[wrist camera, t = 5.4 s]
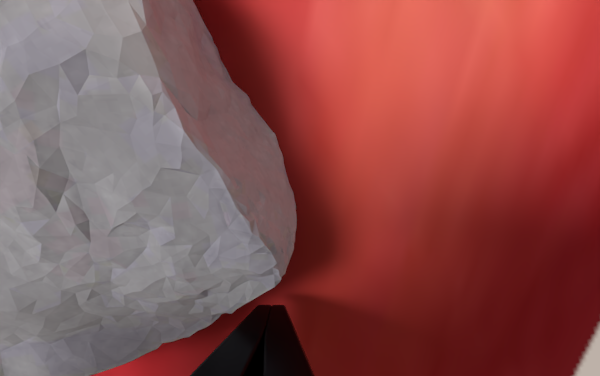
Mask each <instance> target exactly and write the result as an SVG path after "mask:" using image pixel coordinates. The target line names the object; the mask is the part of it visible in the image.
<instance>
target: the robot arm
mask: <svg viewBox="0 0 600 376" xmlns="http://www.w3.org/2000/svg"><path fill="white" fill-rule="evenodd" d="M190 376H314V374H313V371H312V369H311V366H310V364H309V362H308V359H307V357H306V355H305V352H304V350H303V347H302V345H301V343H300V340H299V338H298V336H297V333H296V331H295V328H294V326H293V324H292V321H291V319H290V317H289V314H288V312H287V309H286V307H285V306H284V305H272V306H271V305H258V306H257V307H256V308H255V309H254V310H253V311H252V312H251V313H250V314H249V315H248V316H247V317H246V318H245V319H244V320H243V321H242V322H241V323H240V324H239V325H238V327H237V328H236V329H235V330H234V331H233V332H232V333H231V334H230V335H229V336H228V337H227V338H226V339H225V340H224V341H223V342H222V343H221V344H220V345H219V346H218V347H217V348H216V349H215V350H214V351H213V353H212V354H211V355H210V356H209V357H208V358H207V359H206V360H205V361H204V362H203V363H202V364H201V365H200V366H199V367H198V368H197V369H196V370H195V371H194V372H193V373H192V374H191V375H190Z"/></svg>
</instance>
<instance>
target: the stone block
mask: <svg viewBox="0 0 600 376" xmlns="http://www.w3.org/2000/svg"><path fill="white" fill-rule="evenodd" d="M296 229H297V215H296V203H295V199H294V193H293V190H292V188H291V186H290V184H289V181H288V177H287V173H286V170H285V166H284V159H283V155H282V152H281V150H280V148H279V145H278V141H277V137H276V135H275V133H274V132H273V131H272V130H271V129H270V128H269V126H268V125H267V124H266V122H265V121H264V120H263V119H262V118H261V116H260V115H259V114H258V113H257V111H256V109H255V108H254V107H253V106H252V104H251V101H250V98H249V97H248V95H247V94H246V93H244V92H243V91H242V90H241V89H240V88H239V87H238V86H236V85H235V84H234V83H233V82H232V80H231V78H230V76H229V74H228V71H227V69H226V68H225V66H224V64H223V63H222V61H221V59H220V55H219V52H218V49H217V47H216V45H215V44H214V42H213V38H212V36H211V34H210V33H209V31H208V29H207V27H206V26H205V24H204V22H203V20H202V18H201V16H200V13H199V11H198V9H197V7H196V5H195V4H194V2H193V0H0V376H90V375H93V374H97V373H100V372H103V371H106V370H109V369H111V368H114V367H117V366H120V365H123V364H125V363H128V362H130V361H133V360H135V359H136V358H138V357H140V356H142V355H144V354H146V353H148V352H151V351H153V350H155V349H157V348H158V347H159V346H160V345H161V344H162V343H167V342H173V341H176V340H179V339H181V338H186V337H190V336H191V335H192V334H194V333H195V332H197V331H198V330H201V329H204V328H206V327H208V326H209V325H211V324H212V323H213V322H214V321H216V320H217V319H218V318H219V317H220V316H221V314H224V313H229V314H232V313H233V312H234V311H235V310H236V309H238V308H240V307H241V306H243V305H244V304H246V303H248V302H250V301H252V300H254V299H255V298H257V297H258V296H260V295H262V294H263V293H265V292H267V291H269V290H270V289H272V288H274V287H275V286H276V285H277V284H278V283H279V282H280V281H281V279H282V278H281V277H282V276H283V275H284V274H285V273H286V268H287V266H288V264H289V261H290V258H291V256H292V253H293V250H294V243H295V233H296Z"/></svg>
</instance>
